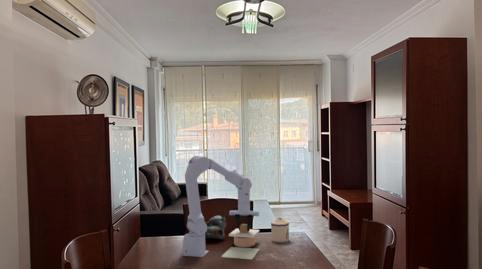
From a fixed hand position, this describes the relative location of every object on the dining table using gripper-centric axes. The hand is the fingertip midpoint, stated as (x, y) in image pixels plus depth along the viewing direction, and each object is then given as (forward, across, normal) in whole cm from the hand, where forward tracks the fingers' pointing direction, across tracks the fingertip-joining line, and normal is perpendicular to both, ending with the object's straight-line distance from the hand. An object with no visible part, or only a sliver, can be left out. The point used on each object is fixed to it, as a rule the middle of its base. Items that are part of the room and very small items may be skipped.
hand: (244, 230), depth 175 cm
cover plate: (+2, 0, 0) cm, 2 cm away
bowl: (+7, 0, 0) cm, 7 cm away
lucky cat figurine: (+7, +19, -6) cm, 21 cm away
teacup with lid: (+7, -15, -12) cm, 20 cm away
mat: (+7, -2, +13) cm, 15 cm away
